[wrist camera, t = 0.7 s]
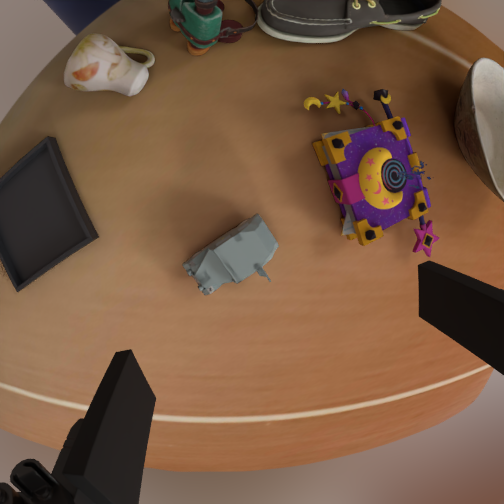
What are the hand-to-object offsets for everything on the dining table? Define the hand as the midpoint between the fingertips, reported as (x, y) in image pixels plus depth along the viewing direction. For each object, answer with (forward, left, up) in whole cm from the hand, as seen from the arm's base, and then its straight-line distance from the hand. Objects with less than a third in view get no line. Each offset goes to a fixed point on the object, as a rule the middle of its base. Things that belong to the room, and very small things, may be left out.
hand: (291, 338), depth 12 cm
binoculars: (-26, +9, -23) cm, 36 cm away
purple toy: (+1, +19, -23) cm, 30 cm away
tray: (-15, -22, -23) cm, 35 cm away
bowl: (+1, +44, -23) cm, 50 cm away
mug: (-25, -4, -23) cm, 34 cm away
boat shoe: (-23, +28, -23) cm, 43 cm away
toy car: (+2, -1, -23) cm, 24 cm away
